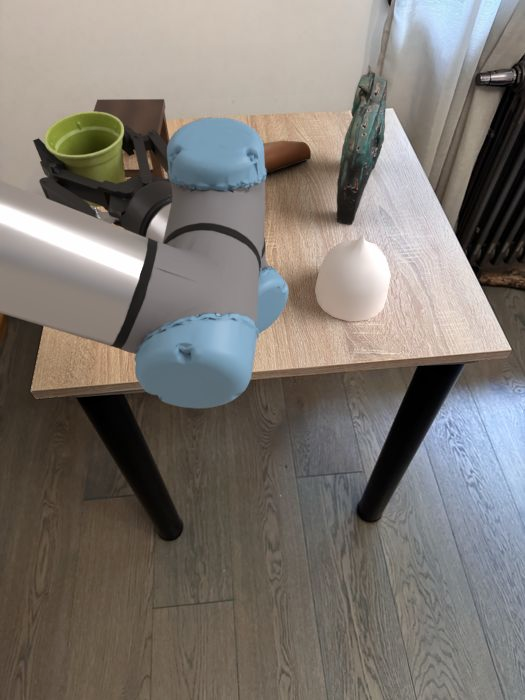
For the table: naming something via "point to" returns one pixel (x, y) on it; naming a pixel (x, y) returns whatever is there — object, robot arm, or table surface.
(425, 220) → the table surface
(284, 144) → the sunglasses case
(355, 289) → the teardrop
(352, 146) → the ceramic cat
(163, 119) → the plant stand
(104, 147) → the plant pot
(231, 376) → the robot arm
